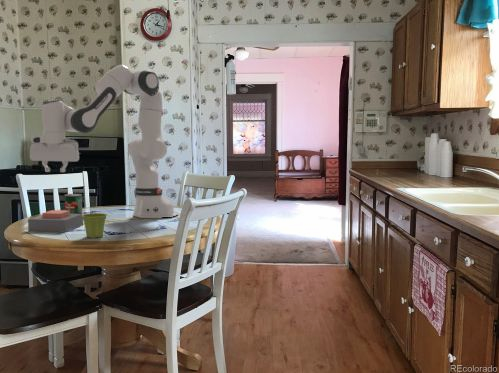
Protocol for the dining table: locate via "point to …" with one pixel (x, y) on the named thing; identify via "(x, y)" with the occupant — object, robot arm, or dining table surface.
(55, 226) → the button housing
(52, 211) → the button
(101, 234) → the plant pot
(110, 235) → the dining table surface
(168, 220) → the dining table surface
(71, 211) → the canned tomato
